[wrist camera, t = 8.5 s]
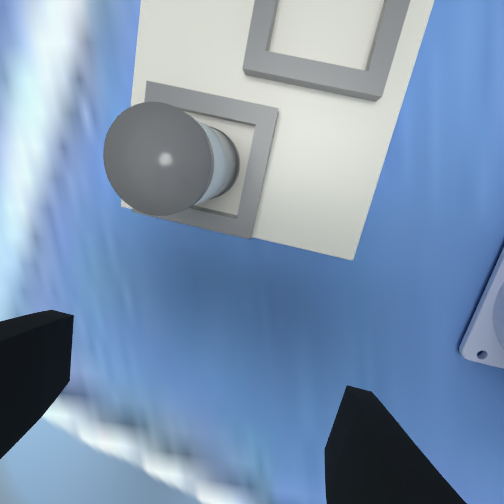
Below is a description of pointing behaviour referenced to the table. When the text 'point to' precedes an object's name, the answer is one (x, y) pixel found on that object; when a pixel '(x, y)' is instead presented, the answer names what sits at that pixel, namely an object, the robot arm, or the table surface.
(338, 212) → the fuse block
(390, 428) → the robot arm
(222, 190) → the grey fuse
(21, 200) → the table surface
